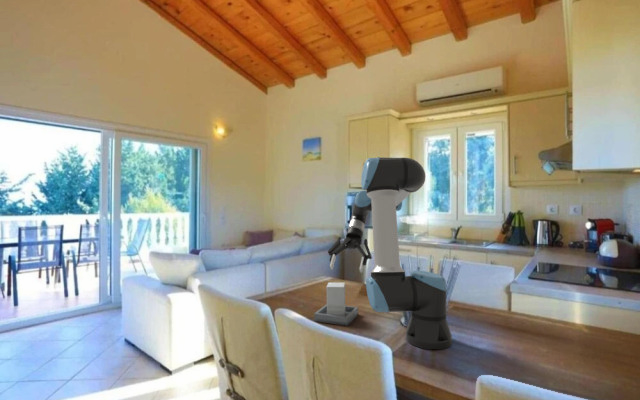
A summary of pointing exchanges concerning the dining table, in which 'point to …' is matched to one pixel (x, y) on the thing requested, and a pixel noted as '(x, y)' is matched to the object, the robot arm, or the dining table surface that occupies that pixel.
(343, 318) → the holder tray
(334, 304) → the supplement box
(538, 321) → the dining table surface
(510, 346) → the dining table surface
